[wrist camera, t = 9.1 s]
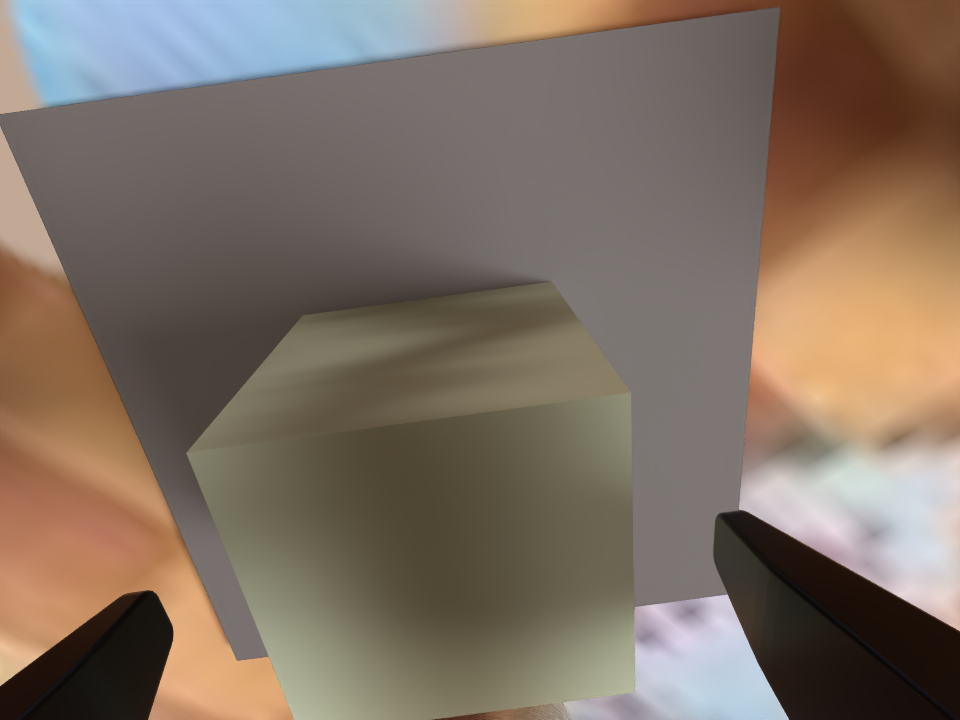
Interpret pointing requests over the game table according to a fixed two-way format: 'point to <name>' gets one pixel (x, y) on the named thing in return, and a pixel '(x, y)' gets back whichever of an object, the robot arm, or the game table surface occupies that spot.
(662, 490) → the mat
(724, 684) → the game table surface
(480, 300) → the sage block
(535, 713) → the metal tin
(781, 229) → the game table surface
